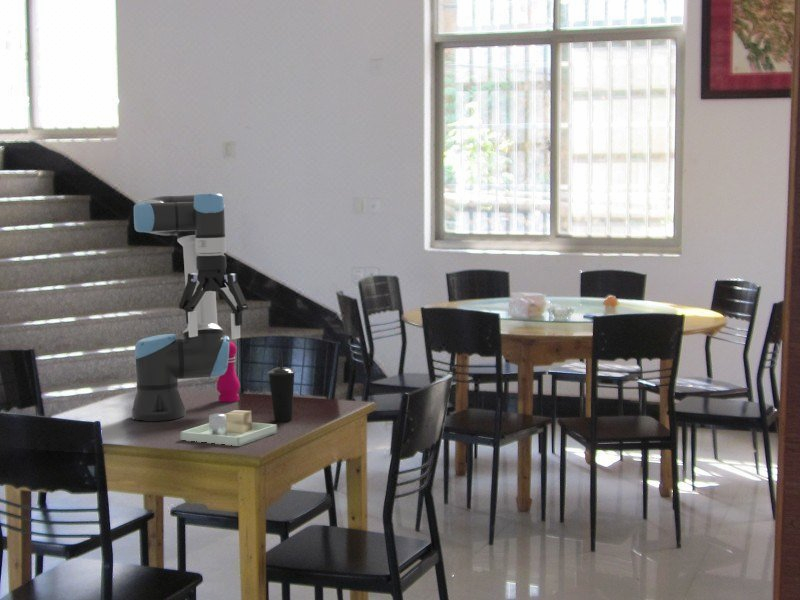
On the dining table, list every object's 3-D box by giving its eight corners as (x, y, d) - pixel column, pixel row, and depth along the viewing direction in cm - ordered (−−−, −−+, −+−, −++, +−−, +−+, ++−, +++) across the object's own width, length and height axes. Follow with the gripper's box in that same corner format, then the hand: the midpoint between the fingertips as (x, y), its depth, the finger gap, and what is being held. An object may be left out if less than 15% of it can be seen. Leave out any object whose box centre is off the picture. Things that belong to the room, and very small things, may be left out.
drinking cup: (271, 417, 309) (269, 347, 307) (298, 416, 308) (296, 346, 306) (267, 422, 301) (264, 351, 299) (295, 422, 301) (292, 350, 299)
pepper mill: (221, 398, 341) (218, 335, 339) (243, 398, 340) (241, 334, 338) (214, 402, 334) (211, 338, 332) (236, 402, 333) (234, 337, 331)
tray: (180, 440, 281) (179, 431, 281) (220, 427, 296) (220, 419, 296) (238, 446, 273) (238, 437, 272) (277, 432, 288) (277, 424, 287)
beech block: (235, 428, 291) (234, 410, 291) (251, 429, 290) (251, 410, 289) (226, 432, 287) (225, 413, 286) (242, 433, 285) (242, 414, 285)
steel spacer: (213, 435, 283) (212, 413, 282) (229, 436, 282) (228, 413, 281) (207, 439, 279) (206, 416, 278) (223, 439, 278) (222, 416, 277)
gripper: (162, 255, 279) (166, 337, 281) (242, 255, 267) (245, 341, 269) (181, 253, 285) (185, 334, 287) (260, 253, 274) (263, 337, 276)
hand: (214, 337), depth 278 cm, fingers open, 13 cm apart
